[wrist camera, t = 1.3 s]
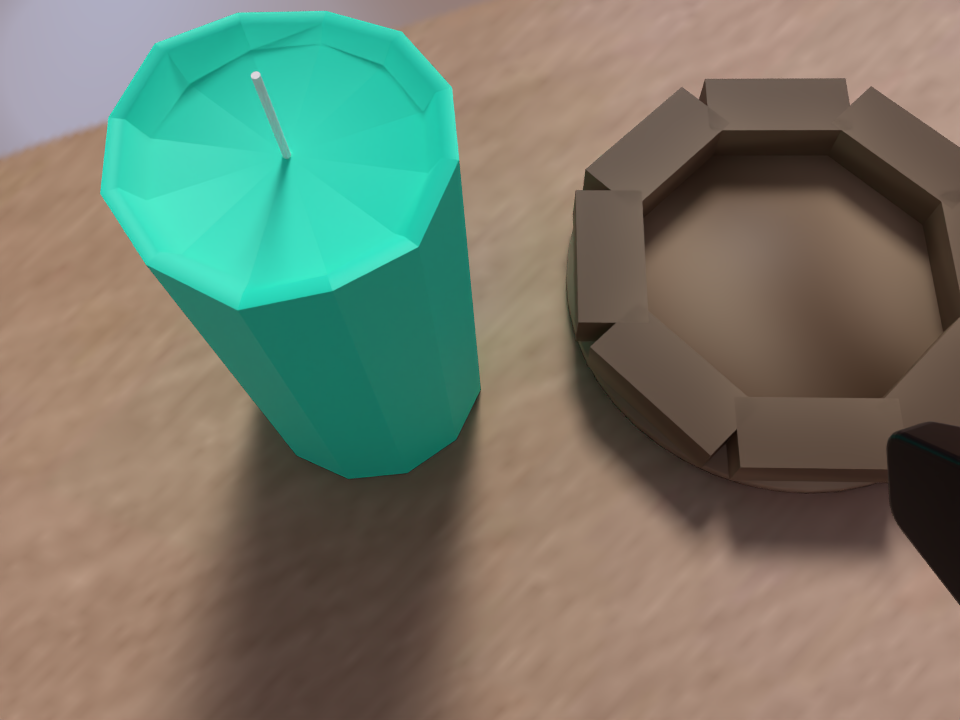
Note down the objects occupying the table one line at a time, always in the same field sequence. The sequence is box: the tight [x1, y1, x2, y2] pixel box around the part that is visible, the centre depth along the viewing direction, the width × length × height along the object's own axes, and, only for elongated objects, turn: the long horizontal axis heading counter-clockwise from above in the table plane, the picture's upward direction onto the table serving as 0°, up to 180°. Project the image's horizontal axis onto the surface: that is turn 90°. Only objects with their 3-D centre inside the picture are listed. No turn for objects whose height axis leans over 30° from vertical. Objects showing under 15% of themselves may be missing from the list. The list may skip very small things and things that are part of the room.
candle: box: [100, 11, 481, 479], centre depth 19 cm, size 6×6×12 cm
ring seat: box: [566, 78, 960, 493], centre depth 24 cm, size 12×12×2 cm
